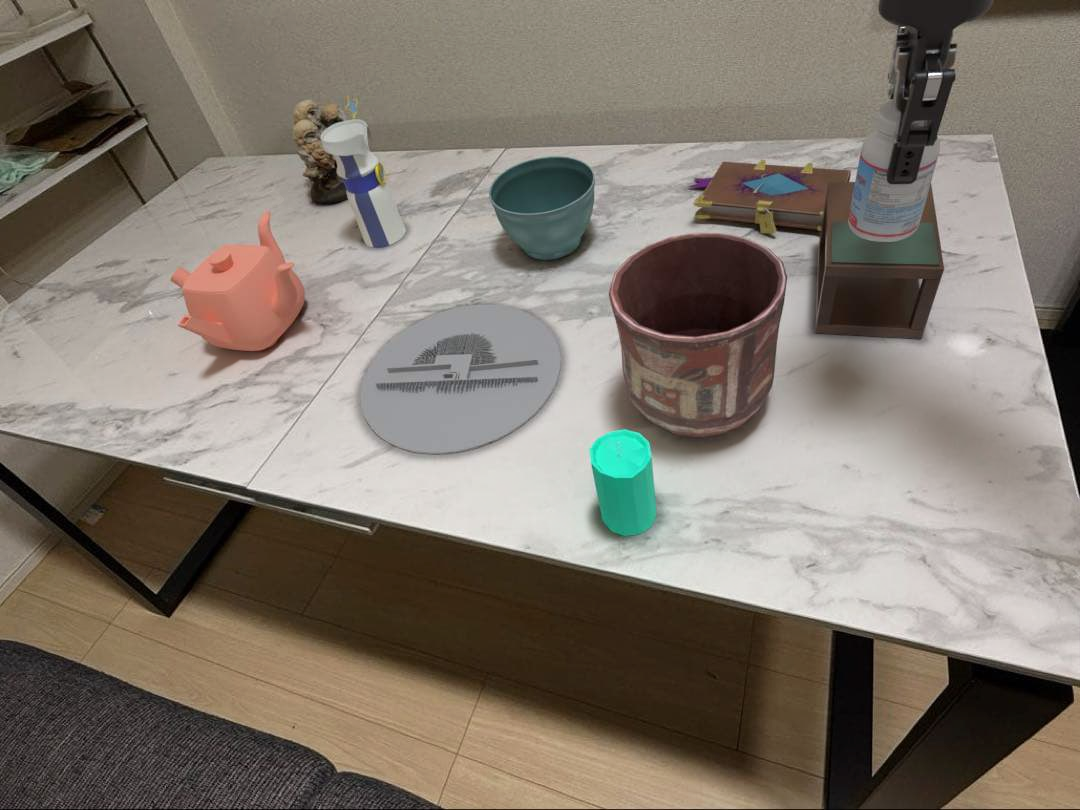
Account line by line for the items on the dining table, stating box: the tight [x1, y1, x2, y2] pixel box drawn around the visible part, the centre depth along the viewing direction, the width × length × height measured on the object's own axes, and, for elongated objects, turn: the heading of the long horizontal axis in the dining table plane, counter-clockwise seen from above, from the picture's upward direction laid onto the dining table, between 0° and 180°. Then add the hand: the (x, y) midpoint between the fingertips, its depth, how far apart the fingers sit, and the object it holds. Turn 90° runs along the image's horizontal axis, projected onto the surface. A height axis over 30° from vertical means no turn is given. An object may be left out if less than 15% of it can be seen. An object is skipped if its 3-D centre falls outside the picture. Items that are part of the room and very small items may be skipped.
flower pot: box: [488, 155, 596, 261], centre depth 104 cm, size 16×16×11 cm
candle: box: [589, 428, 658, 537], centre depth 67 cm, size 6×6×12 cm
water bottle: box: [321, 95, 407, 249], centre depth 110 cm, size 8×9×25 cm
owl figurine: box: [291, 99, 350, 204], centre depth 129 cm, size 18×12×17 cm, turn 165°
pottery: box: [608, 232, 788, 438], centre depth 74 cm, size 18×18×18 cm
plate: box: [360, 304, 562, 455], centre depth 91 cm, size 28×28×1 cm
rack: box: [814, 181, 945, 340], centre depth 84 cm, size 12×18×11 cm, turn 163°
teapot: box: [170, 210, 306, 352], centre depth 102 cm, size 18×18×14 cm
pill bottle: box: [848, 97, 941, 242], centre depth 59 cm, size 6×6×11 cm
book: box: [687, 159, 852, 234], centre depth 103 cm, size 16×25×5 cm, turn 63°
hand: (897, 160), depth 58 cm, fingers closed on pill bottle, 6 cm apart
